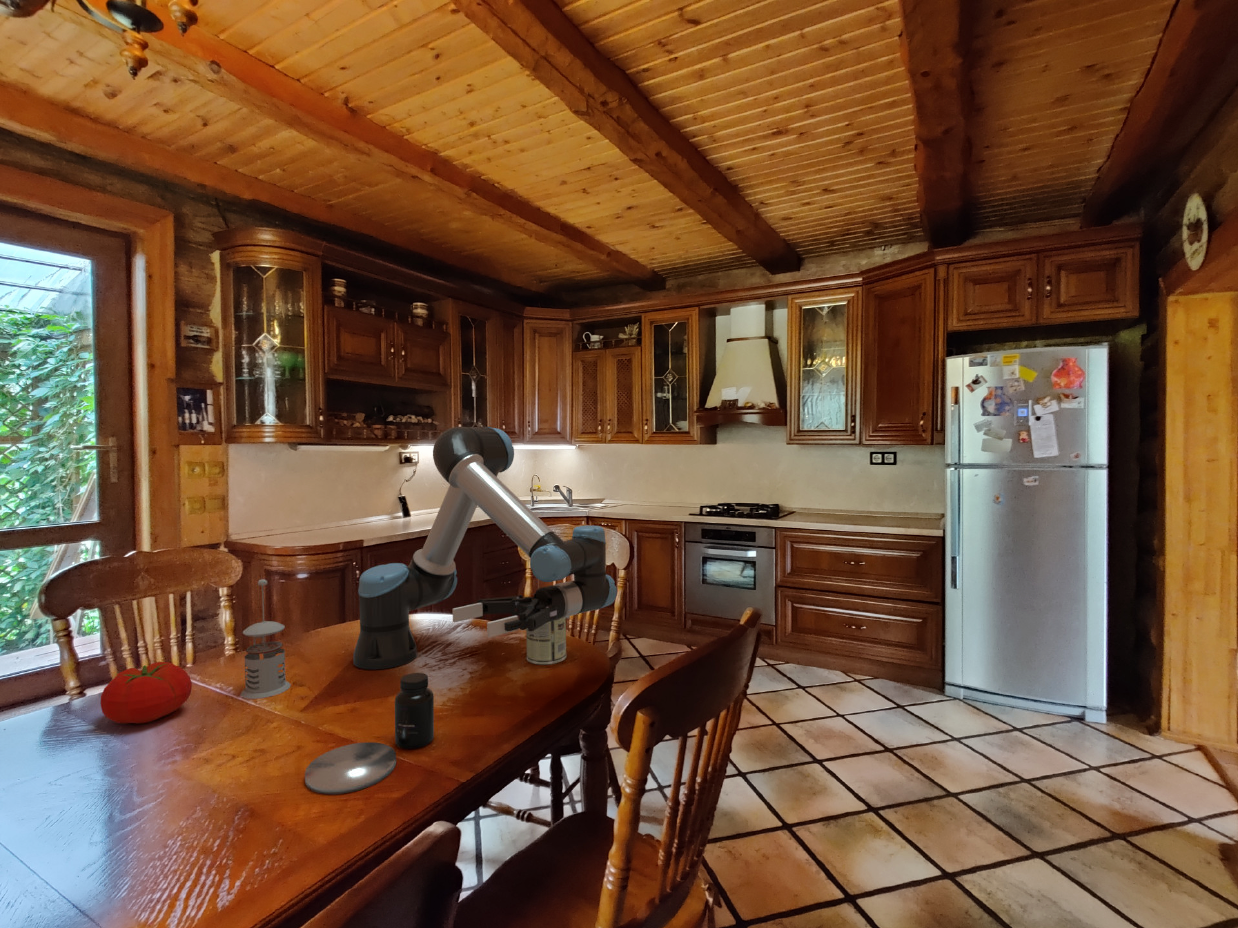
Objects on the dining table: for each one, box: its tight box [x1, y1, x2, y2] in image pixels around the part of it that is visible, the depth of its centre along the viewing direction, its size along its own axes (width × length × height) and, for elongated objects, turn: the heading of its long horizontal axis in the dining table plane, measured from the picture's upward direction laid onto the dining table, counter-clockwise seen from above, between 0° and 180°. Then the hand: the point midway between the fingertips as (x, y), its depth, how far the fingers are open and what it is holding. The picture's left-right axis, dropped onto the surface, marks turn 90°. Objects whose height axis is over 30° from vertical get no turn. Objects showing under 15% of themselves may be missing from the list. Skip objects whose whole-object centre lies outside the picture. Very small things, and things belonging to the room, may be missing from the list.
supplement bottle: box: [394, 672, 435, 750], centre depth 111 cm, size 7×7×12 cm
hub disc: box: [304, 741, 397, 795], centre depth 102 cm, size 14×14×1 cm
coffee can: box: [525, 618, 567, 666], centre depth 153 cm, size 10×10×14 cm
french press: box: [240, 578, 291, 700], centre depth 136 cm, size 10×12×25 cm
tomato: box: [100, 661, 193, 725], centre depth 122 cm, size 14×16×10 cm
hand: (469, 622), depth 118 cm, fingers open, 13 cm apart
